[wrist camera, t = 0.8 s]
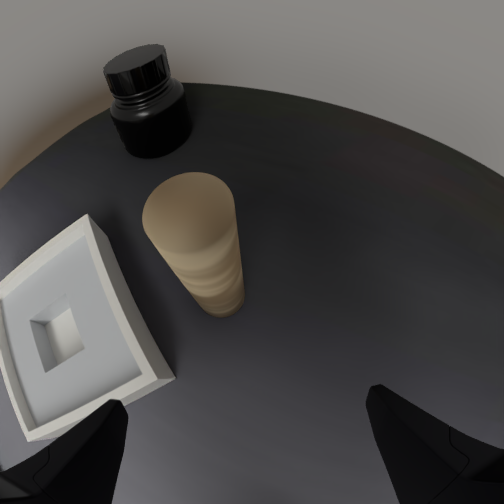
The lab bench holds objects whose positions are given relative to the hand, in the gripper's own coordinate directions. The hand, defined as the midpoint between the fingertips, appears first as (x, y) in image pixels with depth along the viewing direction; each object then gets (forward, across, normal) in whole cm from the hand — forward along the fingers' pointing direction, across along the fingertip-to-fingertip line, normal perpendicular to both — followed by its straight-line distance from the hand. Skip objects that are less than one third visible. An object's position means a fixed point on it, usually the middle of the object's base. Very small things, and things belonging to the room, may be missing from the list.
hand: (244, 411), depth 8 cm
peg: (+15, +2, +2) cm, 15 cm away
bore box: (+12, +17, +5) cm, 21 cm away
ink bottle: (+29, +10, -13) cm, 33 cm away
